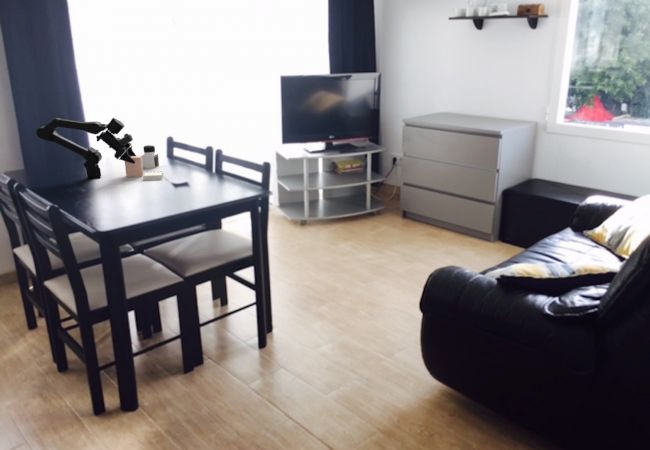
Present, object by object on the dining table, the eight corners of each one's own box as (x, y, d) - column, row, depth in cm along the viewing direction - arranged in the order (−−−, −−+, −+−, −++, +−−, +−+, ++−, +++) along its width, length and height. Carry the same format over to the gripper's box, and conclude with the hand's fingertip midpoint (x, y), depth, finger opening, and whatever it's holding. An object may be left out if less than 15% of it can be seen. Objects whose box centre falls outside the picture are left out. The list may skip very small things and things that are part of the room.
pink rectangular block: (126, 176, 294) (124, 157, 291) (127, 175, 298) (125, 156, 294) (142, 176, 295) (140, 157, 292) (143, 174, 299) (141, 155, 296)
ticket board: (143, 180, 287) (143, 175, 287) (146, 176, 295) (145, 171, 294) (161, 179, 289) (161, 174, 288) (163, 176, 296) (163, 171, 295)
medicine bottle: (155, 168, 314) (153, 146, 311) (142, 168, 315) (140, 146, 311) (159, 165, 321) (157, 144, 317) (146, 165, 321) (144, 144, 318)
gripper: (118, 132, 279) (143, 153, 284) (125, 126, 297) (149, 146, 302) (103, 148, 281) (129, 169, 286) (111, 142, 298) (135, 161, 303)
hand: (136, 161), depth 294 cm, fingers open, 9 cm apart
